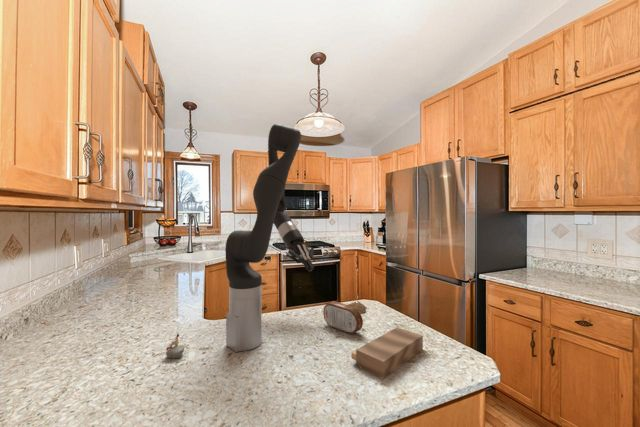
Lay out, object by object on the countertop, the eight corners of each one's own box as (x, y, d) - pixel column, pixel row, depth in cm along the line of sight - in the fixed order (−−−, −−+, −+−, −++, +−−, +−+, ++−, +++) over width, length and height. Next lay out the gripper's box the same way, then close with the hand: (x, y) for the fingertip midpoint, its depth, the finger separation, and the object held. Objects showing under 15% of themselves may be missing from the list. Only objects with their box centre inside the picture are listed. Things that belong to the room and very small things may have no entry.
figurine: (184, 358, 73) (183, 334, 74) (165, 362, 71) (164, 338, 72) (184, 352, 78) (183, 330, 78) (166, 356, 76) (166, 333, 76)
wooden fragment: (354, 326, 95) (354, 323, 95) (324, 320, 100) (324, 317, 100) (373, 304, 118) (373, 301, 118) (348, 300, 123) (348, 298, 123)
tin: (363, 335, 88) (363, 308, 88) (357, 338, 85) (357, 310, 85) (327, 322, 98) (327, 298, 98) (321, 324, 96) (321, 300, 96)
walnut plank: (383, 379, 64) (383, 361, 64) (351, 363, 71) (351, 347, 71) (422, 349, 78) (422, 335, 78) (392, 338, 85) (392, 325, 85)
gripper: (281, 229, 104) (302, 266, 96) (307, 228, 114) (329, 261, 105) (273, 242, 108) (293, 279, 99) (298, 240, 117) (319, 273, 109)
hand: (311, 269), depth 102 cm, fingers closed
